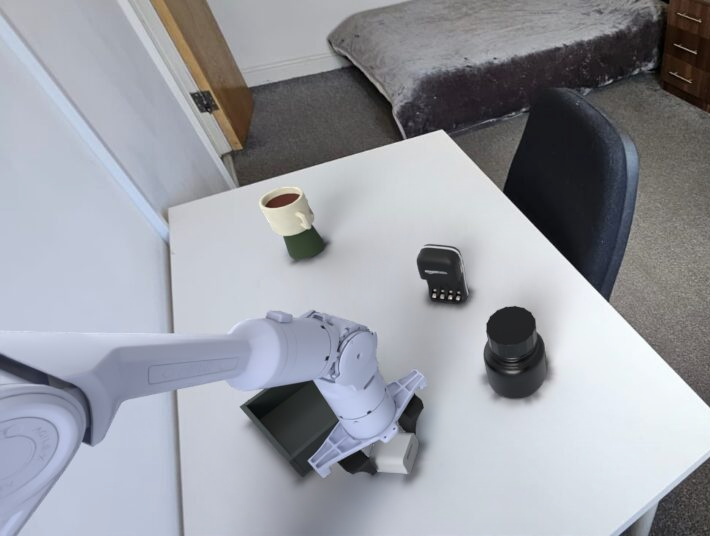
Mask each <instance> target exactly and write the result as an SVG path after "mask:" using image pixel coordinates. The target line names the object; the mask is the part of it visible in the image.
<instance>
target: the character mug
mask: <svg viewBox="0 0 710 536" xmlns="http://www.w3.org/2000/svg"><path fill="white" fill-rule="evenodd" d="M258 206H259V208H260V210H261V211H262V213H263V215H264V217H265V218H266V220H267V222H268V224H269V226H270V228H271V230H272V231H273V232H274V233H275V234H276V235H279V236H281V237H282V238H283V241H284V244H285V246H286V250H287V252H288V255H289V257H290V258H291V259H294V260H304V259H308V258H311V257H313V256H316V255H317V254H320V253H321V252H322V251H324V248H325V247H326V244H325V241H324V239H323V238H322V236H321V234H320V233H319V231H318V230H317V229H316V227H314V225H313V223H314V222H315V213H314V212H313V210H312V209H311V207H310V205H309V200H308V199H307V197H306V194H305V193H304V191H303V189H302V187H299V186H296V185H295V186H293V185H286V186H285V185H284V186H280V187H277V188H273V189H271V190H269V191H267V192H266V193H264V194H263V195H262V196H261V197H260V199H258Z"/></svg>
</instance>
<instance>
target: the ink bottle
mask: <svg viewBox="0 0 710 536" xmlns="http://www.w3.org/2000/svg"><path fill="white" fill-rule="evenodd" d="M536 322H537V321H536V317H535V316H534V314H533V312H532V311H530V310H528V309H526V307H523V306H522V307H521V306H518V305H509V306H504V307H502V308H499V309H497V310H495V311H494V312H493V313H492V314H491V315H490V316H489V317H488V320H487V322H486V323H485V327H486V329H485V332H486V336H487V337H486V338H487V340H486V342H485V344H484V348H483V356H482V357H483V362H484V368H485V371H486V377H487V381H488V384H489V386H490V387H491V389H492V390H493V391H494V392H495V393H496V394H497V395H499V396H501V397H503V398H506V399H511V400H519V399H525V398H528V397H530V396H532V395H533V394H535V393H536V392H537V391H538V390H539V389H540V388H541V387H542V385H543V384H544V381H545V379H546V376H547V367H548V365H547V351H546V345H545V341H544V339H543V336H541V334H540V333H539V332H538V331H537V323H536Z"/></svg>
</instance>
